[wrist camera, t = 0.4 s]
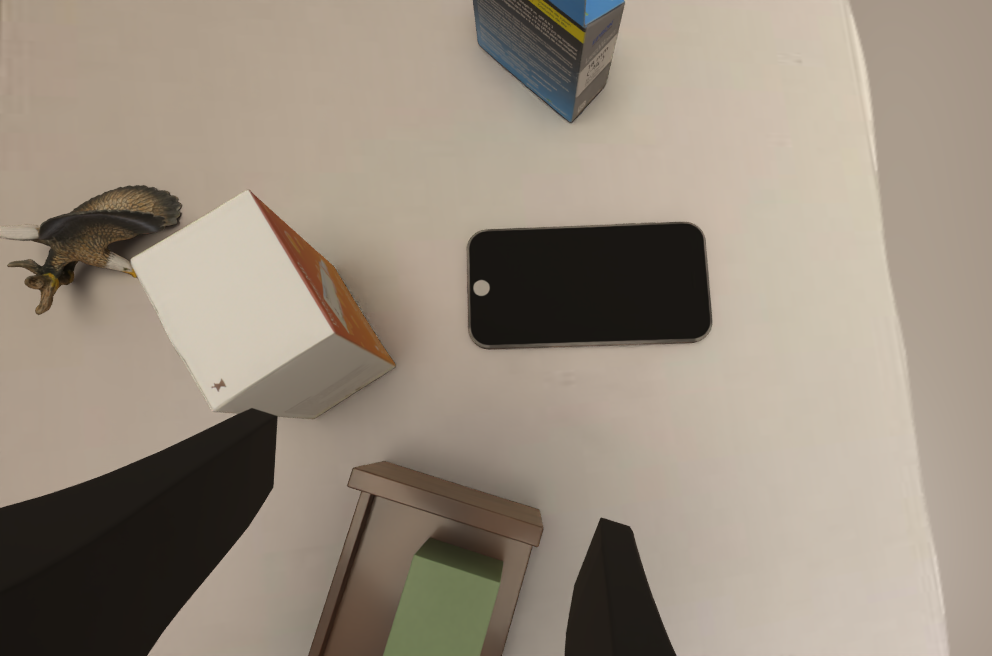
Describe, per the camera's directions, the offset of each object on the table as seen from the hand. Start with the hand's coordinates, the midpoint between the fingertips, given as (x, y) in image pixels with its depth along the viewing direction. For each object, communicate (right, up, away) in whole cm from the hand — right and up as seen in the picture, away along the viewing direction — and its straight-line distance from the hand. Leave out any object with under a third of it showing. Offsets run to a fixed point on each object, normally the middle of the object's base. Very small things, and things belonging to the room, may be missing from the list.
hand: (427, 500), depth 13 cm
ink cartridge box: (+4, +21, +29) cm, 36 cm away
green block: (-1, -11, +21) cm, 24 cm away
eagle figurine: (-23, +9, +28) cm, 38 cm away
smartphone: (+7, +6, +26) cm, 28 cm away
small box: (-9, +3, +27) cm, 28 cm away
